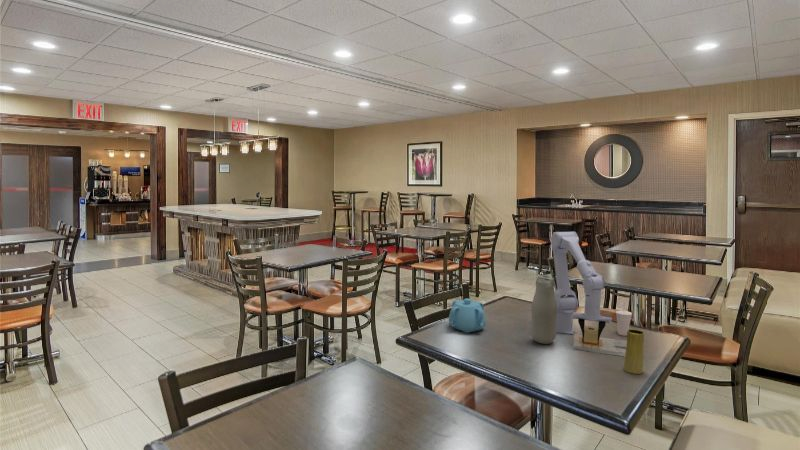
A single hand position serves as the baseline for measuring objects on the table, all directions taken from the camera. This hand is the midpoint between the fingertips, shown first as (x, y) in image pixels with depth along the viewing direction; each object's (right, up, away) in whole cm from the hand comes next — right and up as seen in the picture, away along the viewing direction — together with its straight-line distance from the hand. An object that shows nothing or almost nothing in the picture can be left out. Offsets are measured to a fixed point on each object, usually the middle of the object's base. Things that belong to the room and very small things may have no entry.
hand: (590, 338), depth 182 cm
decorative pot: (-47, -1, +19) cm, 51 cm away
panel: (+6, -3, -2) cm, 7 cm away
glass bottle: (-19, -3, +3) cm, 19 cm away
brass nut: (0, -2, 0) cm, 2 cm away
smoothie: (+20, -2, +14) cm, 24 cm away
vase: (+5, -6, -23) cm, 25 cm away
